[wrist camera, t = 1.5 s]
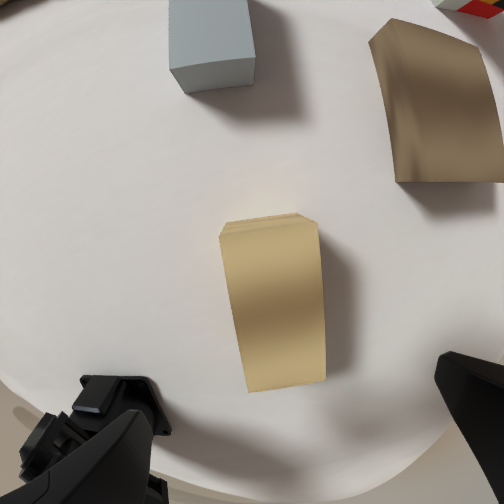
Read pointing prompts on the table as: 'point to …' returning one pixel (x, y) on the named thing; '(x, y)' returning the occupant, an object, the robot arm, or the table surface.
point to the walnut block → (437, 106)
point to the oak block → (276, 299)
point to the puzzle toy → (472, 6)
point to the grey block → (210, 44)
